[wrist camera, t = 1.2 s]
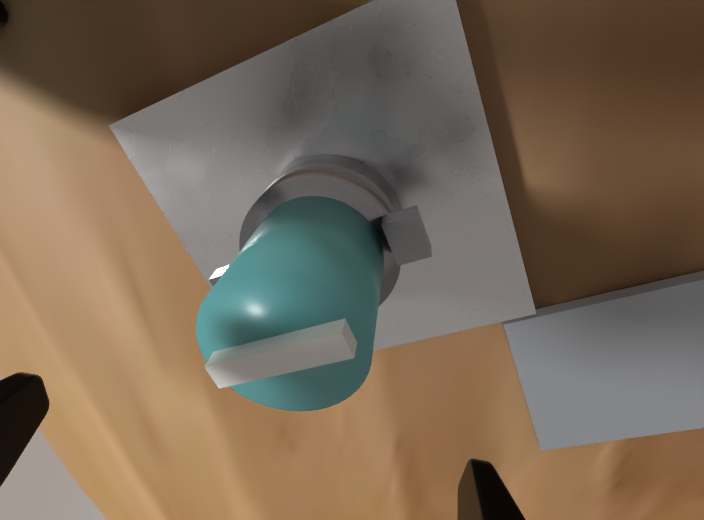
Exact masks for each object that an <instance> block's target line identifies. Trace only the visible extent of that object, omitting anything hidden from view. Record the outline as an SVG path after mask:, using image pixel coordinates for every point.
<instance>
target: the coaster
mask: <svg viewBox="0 0 704 520" xmlns="http://www.w3.org/2000/svg"><path fill="white" fill-rule="evenodd" d="M535 310H536V314H533V315H529V316H525V317H520V318H516V319H511V320H507V321H503V326H504V329H505V332H506V336H507V339H508V342H509V346H510V349H511V352H512V356H513V359H514V362H515V366H516V369H517V372H518V375H519V379H520V382H521V385H522V389H523V392H524V395H525V399H526V402H527V405H528V409H529V412H530V415H531V419H532V422H533V425H534V429H535V432H536V435H537V439H538V442H539V445H540V449H541V451H542V450H549V449H556V448H563V447H570V446H578V445H585V444H592V443H599V442H606V441H613V440H620V439H627V438H634V437H641V436H649V435H656V434H663V433H670V432H677V431H684V430H691V429H698V428H704V270H703V271H699V272H695V273H690V274H686V275H681V276H677V277H673V278H668V279H664V280H660V281H655V282H651V283H647V284H642V285H638V286H634V287H629V288H625V289H621V290H616V291H612V292H608V293H603V294H599V295H595V296H590V297H586V298H582V299H577V300H573V301H569V302H564V303H560V304H556V305H551V306H547V307H543V308H538V309H535Z"/></svg>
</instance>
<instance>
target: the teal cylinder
mask: <svg viewBox="0 0 704 520" xmlns="http://www.w3.org/2000/svg"><path fill="white" fill-rule="evenodd" d="M383 268H384V251H383V246H382V243H381V240H380V238H379V236H378V234H377V232H376V230H375V229H374V227H373V226H372V224H371V223H370V222H369V221H368V220H367V219H366V217H364V216H363V215H362V214H361V213H360V212H359V211H357V210H356V209H354V208H353V207H351V206H349V205H347V204H346V203H344V202H341V201H338V200H336V199H332V198H328V197H322V196H304V197H298V198H294V199H291V200H288V201H286V202H284V203H282V204H280V205H279V206H277V207H275V208H274V209H273V210H272V211H271V212H270V213H269V214H268V215H267V216H266V217H265V218H264V220H263V221H262V222H261V224H260V225H259V226H258V228H257V229H256V230H255V232H254V233H253V234H252V236H251V237H250V238H249V240H248V241H247V242H246V244H245V245H244V246H243V248H242V249H241V250H240V252H239V253H238V254H237V256H236V257H235V258H234V260H233V261H232V262H231V264H230V265H229V267H228V268H227V269H226V271H225V272H224V273H223V275H222V276H221V277H220V279H219V280H218V281H217V283H216V284H215V285H214V287H213V288H212V289H211V291H210V292H209V293H208V295H207V296H206V297H205V299H204V301H203V302H202V304H201V306H200V309H199V311H198V315H197V320H196V335H197V341H198V344H199V348H200V350H201V352H202V355H203V357H204V359H205V360H206V362H207V363H206V365H205V366H204V368H205V369H206V370H207V372H208V373H209V375H210V376H211V378H212V379H213V380H214V382H215V383H216V385H217V386H218V388H224V387H228V386H229V387H230V388H231V389H233V390H234V391H236V392H237V393H239V394H241V395H242V396H244V397H246V398H248V399H250V400H252V401H254V402H257V403H259V404H262V405H265V406H268V407H272V408H276V409H281V410H288V411H312V410H319V409H323V408H327V407H330V406H333V405H335V404H338V403H340V402H342V401H343V400H345V399H347V398H348V397H350V396H351V395H352V394H353V393H354V392H356V391H357V390H358V389H359V388H360V386H361V385H362V383H363V382H364V381H365V379H366V377H367V375H368V373H369V370H370V366H371V361H372V353H373V346H374V338H375V330H376V322H377V315H378V307H379V299H380V292H381V284H382V276H383Z"/></svg>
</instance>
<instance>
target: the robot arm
mask: <svg viewBox="0 0 704 520" xmlns="http://www.w3.org/2000/svg"><path fill="white" fill-rule="evenodd" d="M7 20H8V15H7V11H6V9H5V7H4V5H3V4H2V2H1V1H0V28H1V27H3V26H4V25H5V24H6V23H7ZM48 409H49V399H48V396H47V392H46V389H45V386H44V383H43V380H42V378H41V377H40V376H38V375H35V374H29V373H24V372H20V373H16V374H13V375H11V376H9V377H7V378H4V379H2V380H0V486H1V485H2V484H3V482H4V480H5V479H6V477H7V476H8V475H9V473H10V471H11V470H12V468H13V467H14V465H15V464H16V462H17V460H18V459H19V457H20V455H21V454H22V452H23V451H24V449H25V447H26V446H27V444H28V443H29V441H30V439H31V438H32V436H33V435H34V433H35V431H36V430H37V428H38V427H39V425H40V423H41V422H42V420H43V419H44V417H45V415H46V414H47V411H48ZM458 520H525V518H524V516H523V515H522V513H521V511H520V510H519V508H518V506H517V505H516V503H515V501H514V500H513V498H512V496H511V495H510V493H509V491H508V490H507V488H506V486H505V485H504V483H503V481H502V480H501V478H500V476H499V475H498V473H497V471H496V470H495V468H494V467H493V465H492V464H491V463H490V462H488V461H483V460H478V459H470V460H469V461H468V463H467V465H466V468H465V470H464V472H463V475H462V477H461V480H460V482H459V487H458Z"/></svg>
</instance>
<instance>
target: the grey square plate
mask: <svg viewBox="0 0 704 520" xmlns="http://www.w3.org/2000/svg"><path fill="white" fill-rule="evenodd" d="M108 126H109V127H110V129H111V130H112V132H113V134H114V135H115V137H116V138H117V140H118V142H119V143H120V145H121V146H122V148H123V150H124V151H125V153H126V154H127V156H128V157H129V159H130V161H131V162H132V164H133V165H134V167H135V169H136V170H137V172H138V173H139V175H140V177H141V178H142V180H143V181H144V183H145V185H146V186H147V188H148V189H149V191H150V193H151V194H152V196H153V197H154V199H155V201H156V202H157V204H158V205H159V207H160V208H161V210H162V212H163V213H164V215H165V216H166V218H167V220H168V221H169V223H170V224H171V226H172V228H173V229H174V231H175V232H176V234H177V236H178V237H179V239H180V240H181V242H182V244H183V245H184V247H185V248H186V250H187V252H188V253H189V255H190V256H191V258H192V259H193V261H194V263H195V264H196V266H197V267H198V269H199V271H200V272H201V274H202V275H203V277H204V279H205V280H206V282H207V283H208V285H209V287H210V288H211V289H212V288H213V287H214V285H215V284H216V283H217V281H218V280H219V279H220V277H221V276H222V275H223V273H224V272H225V271H226V269H227V268H228V267H229V265H230V264H231V262H232V261H233V260H234V258H235V257H236V256H237V254H238V253H239V252H240V250H241V249H242V248H243V246H244V245H245V244H246V242H247V241H248V240H249V238H250V237H251V236H252V234H253V233H254V232H255V230H256V229H257V228H258V226H259V225H260V224H261V222H262V221H263V220H264V218H265V217H266V216H267V215H268V214H269V213H270V212H271V211H272V210H273V209H274V208H275V207H277V206H279V205H280V204H282V203H284V202H286V201H288V200H291V199H294V198H298V197H304V196H322V197H328V198H332V199H336V200H338V201H341V202H344V203H346V204H347V205H349V206H351V207H353V208H354V209H356V210H357V211H359V212H360V213H361V214H362V215H363V216H364V217H366V219H367V220H368V221H369V222H370V223H371V224H372V226H373V227H374V229H375V230H376V232H377V234H378V236H379V238H380V240H381V243H382V246H383V251H384V268H383V276H382V284H381V292H380V299H379V307H378V315H377V322H376V330H375V338H374V346H373V351H375V350H379V349H384V348H388V347H393V346H397V345H401V344H406V343H410V342H415V341H419V340H423V339H428V338H432V337H437V336H441V335H445V334H450V333H454V332H459V331H463V330H467V329H472V328H476V327H481V326H485V325H489V324H494V323H498V322H503V321H507V320H511V319H516V318H520V317H525V316H529V315H533V314H536V310H535V306H534V302H533V298H532V295H531V291H530V287H529V283H528V279H527V275H526V271H525V267H524V263H523V260H522V256H521V252H520V248H519V244H518V240H517V236H516V232H515V228H514V225H513V221H512V217H511V213H510V209H509V205H508V201H507V197H506V193H505V190H504V186H503V182H502V178H501V174H500V170H499V166H498V162H497V158H496V155H495V151H494V147H493V143H492V139H491V135H490V131H489V127H488V123H487V120H486V116H485V112H484V108H483V104H482V100H481V96H480V92H479V88H478V85H477V81H476V77H475V73H474V69H473V65H472V61H471V57H470V53H469V49H468V46H467V42H466V38H465V34H464V30H463V26H462V22H461V18H460V14H459V11H458V7H457V3H456V0H373V1H371V2H369V3H366V4H364V5H362V6H360V7H358V8H356V9H354V10H352V11H350V12H347V13H345V14H343V15H341V16H339V17H337V18H335V19H333V20H330V21H328V22H326V23H324V24H322V25H320V26H318V27H316V28H314V29H311V30H309V31H307V32H305V33H303V34H301V35H299V36H297V37H295V38H292V39H290V40H288V41H286V42H284V43H282V44H280V45H278V46H275V47H273V48H271V49H269V50H267V51H265V52H263V53H261V54H259V55H256V56H254V57H252V58H250V59H248V60H246V61H244V62H242V63H239V64H237V65H235V66H233V67H231V68H229V69H227V70H225V71H223V72H220V73H218V74H216V75H214V76H212V77H210V78H208V79H206V80H204V81H201V82H199V83H197V84H195V85H193V86H191V87H189V88H187V89H184V90H182V91H180V92H178V93H176V94H174V95H172V96H170V97H168V98H165V99H163V100H161V101H159V102H157V103H155V104H153V105H151V106H148V107H146V108H144V109H142V110H140V111H138V112H136V113H134V114H132V115H129V116H127V117H125V118H123V119H121V120H119V121H117V122H115V123H113V124H110V125H108Z"/></svg>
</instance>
